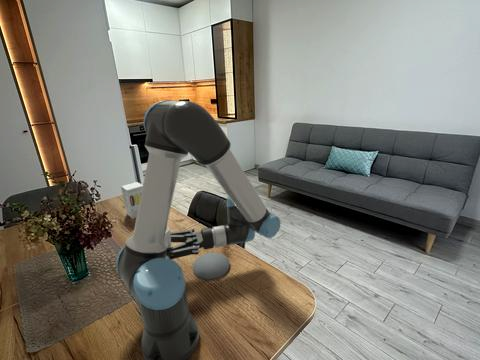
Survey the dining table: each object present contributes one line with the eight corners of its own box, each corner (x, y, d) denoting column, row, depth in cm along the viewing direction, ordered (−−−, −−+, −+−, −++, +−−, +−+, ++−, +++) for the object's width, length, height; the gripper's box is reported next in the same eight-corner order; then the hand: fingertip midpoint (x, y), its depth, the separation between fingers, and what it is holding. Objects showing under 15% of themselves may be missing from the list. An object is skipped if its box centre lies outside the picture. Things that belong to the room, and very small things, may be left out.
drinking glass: (173, 258, 97) (168, 223, 91) (176, 269, 91) (170, 232, 85) (154, 262, 94) (148, 227, 89) (156, 274, 88) (149, 237, 83)
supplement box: (132, 219, 137) (125, 190, 131) (126, 213, 143) (119, 186, 137) (149, 213, 143) (144, 185, 137) (142, 208, 149) (137, 181, 143)
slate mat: (236, 269, 96) (235, 267, 95) (201, 285, 89) (201, 282, 89) (219, 250, 107) (219, 248, 107) (187, 263, 101) (187, 260, 100)
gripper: (218, 262, 87) (146, 276, 81) (209, 233, 104) (150, 243, 98) (217, 243, 84) (143, 256, 78) (208, 216, 102) (147, 226, 96)
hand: (147, 249), depth 88 cm, fingers closed on drinking glass, 6 cm apart
